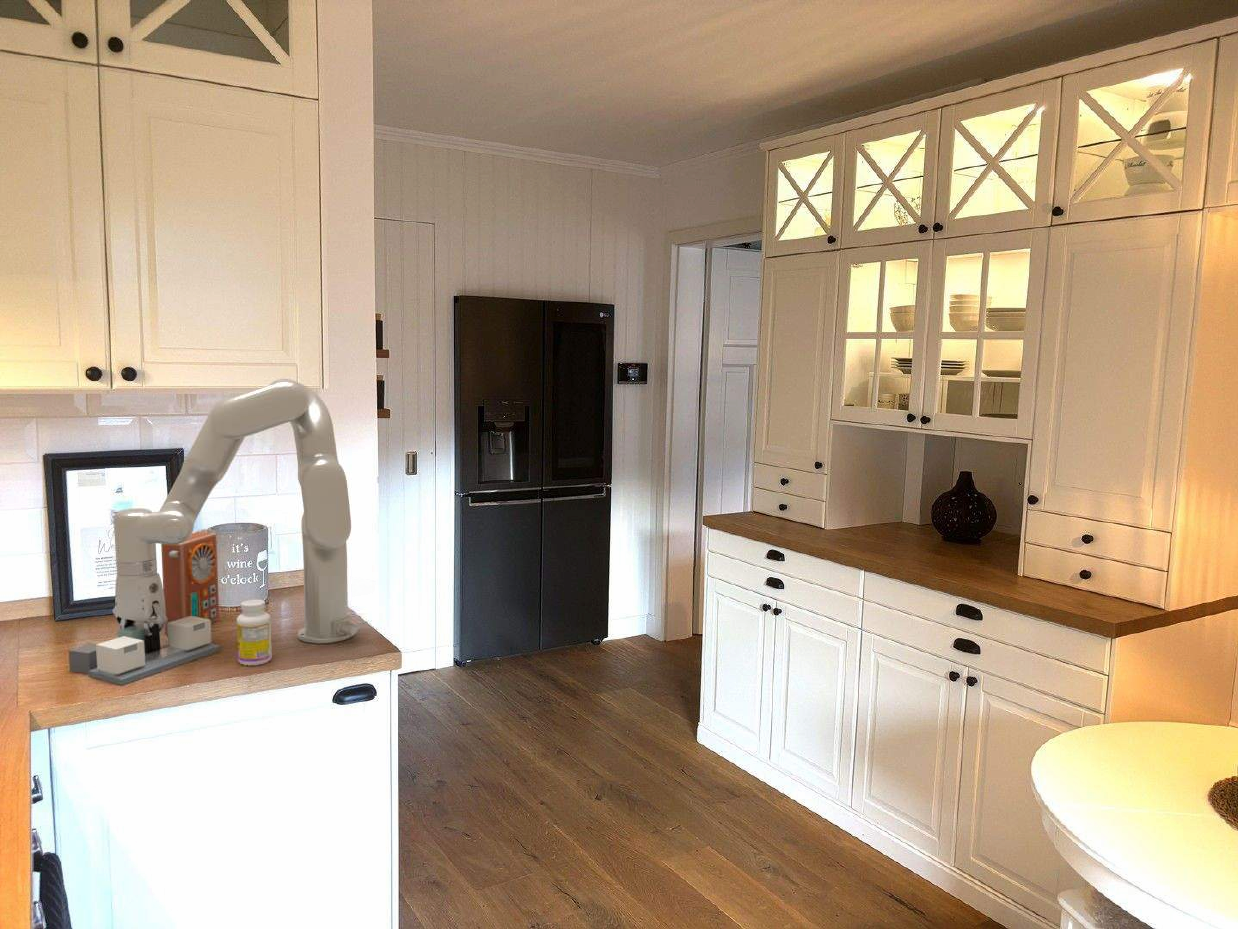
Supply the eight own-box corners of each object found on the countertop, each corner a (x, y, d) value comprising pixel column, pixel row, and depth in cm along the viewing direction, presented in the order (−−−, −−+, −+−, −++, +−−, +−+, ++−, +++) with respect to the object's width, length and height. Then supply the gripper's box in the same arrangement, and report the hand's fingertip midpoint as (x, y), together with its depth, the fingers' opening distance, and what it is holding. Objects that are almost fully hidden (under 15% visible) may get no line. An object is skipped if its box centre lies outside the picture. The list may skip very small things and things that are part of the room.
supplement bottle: (244, 655, 192) (242, 597, 190) (276, 655, 192) (274, 597, 191) (233, 666, 185) (231, 606, 184) (265, 666, 186) (264, 606, 184)
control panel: (225, 618, 217) (184, 637, 203) (200, 616, 219) (157, 634, 204) (222, 532, 215) (180, 545, 200) (197, 530, 216) (153, 543, 201)
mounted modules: (211, 642, 195) (210, 619, 194) (117, 674, 175) (116, 649, 174) (191, 637, 197) (190, 615, 197) (97, 668, 177) (95, 644, 177)
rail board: (220, 650, 194) (219, 645, 194) (122, 685, 174) (122, 679, 174) (187, 643, 199) (187, 638, 198) (88, 676, 178) (88, 670, 178)
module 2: (160, 651, 193) (159, 624, 193) (133, 660, 188) (131, 633, 187) (146, 648, 195) (145, 621, 194) (119, 657, 189) (117, 630, 189)
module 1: (110, 666, 184) (108, 645, 184) (89, 674, 179) (88, 653, 179) (90, 663, 185) (89, 642, 185) (69, 672, 181) (68, 650, 180)
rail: (208, 644, 195) (208, 641, 195) (114, 676, 175) (114, 673, 175) (194, 641, 197) (194, 638, 197) (100, 672, 177) (99, 669, 177)
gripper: (181, 568, 188) (185, 650, 191) (125, 559, 195) (129, 638, 198) (149, 576, 182) (154, 661, 184) (92, 566, 189) (98, 648, 191)
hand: (141, 648), depth 191 cm, fingers open, 6 cm apart
